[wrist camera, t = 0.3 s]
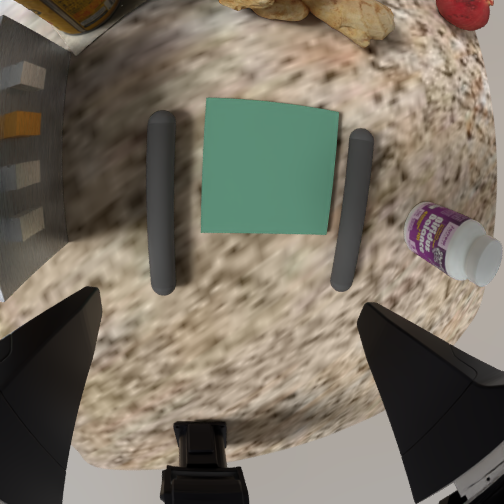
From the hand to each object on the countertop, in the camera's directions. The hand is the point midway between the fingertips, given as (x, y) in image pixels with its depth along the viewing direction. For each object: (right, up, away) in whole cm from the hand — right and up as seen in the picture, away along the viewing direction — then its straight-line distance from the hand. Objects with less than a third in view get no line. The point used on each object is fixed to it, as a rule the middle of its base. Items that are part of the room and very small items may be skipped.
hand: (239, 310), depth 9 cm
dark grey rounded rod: (+8, +5, +14) cm, 17 cm away
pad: (+2, +8, +12) cm, 15 cm away
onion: (+21, +28, +8) cm, 36 cm away
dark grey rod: (-6, +5, +12) cm, 14 cm away
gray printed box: (-15, +10, +9) cm, 20 cm away
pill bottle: (+17, +4, +16) cm, 24 cm away
